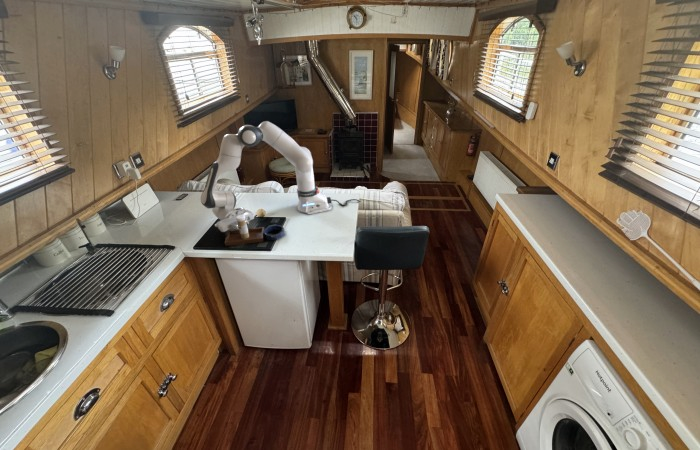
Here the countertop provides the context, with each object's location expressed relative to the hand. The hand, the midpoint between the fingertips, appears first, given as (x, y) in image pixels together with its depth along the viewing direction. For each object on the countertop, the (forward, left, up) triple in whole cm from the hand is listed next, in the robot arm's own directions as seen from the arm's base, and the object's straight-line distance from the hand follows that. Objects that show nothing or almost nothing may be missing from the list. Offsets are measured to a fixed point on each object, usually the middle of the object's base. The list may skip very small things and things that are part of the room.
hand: (243, 225), depth 155 cm
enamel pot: (-16, -1, -9) cm, 18 cm away
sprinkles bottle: (+1, -1, -8) cm, 8 cm away
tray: (0, -1, -9) cm, 9 cm away
